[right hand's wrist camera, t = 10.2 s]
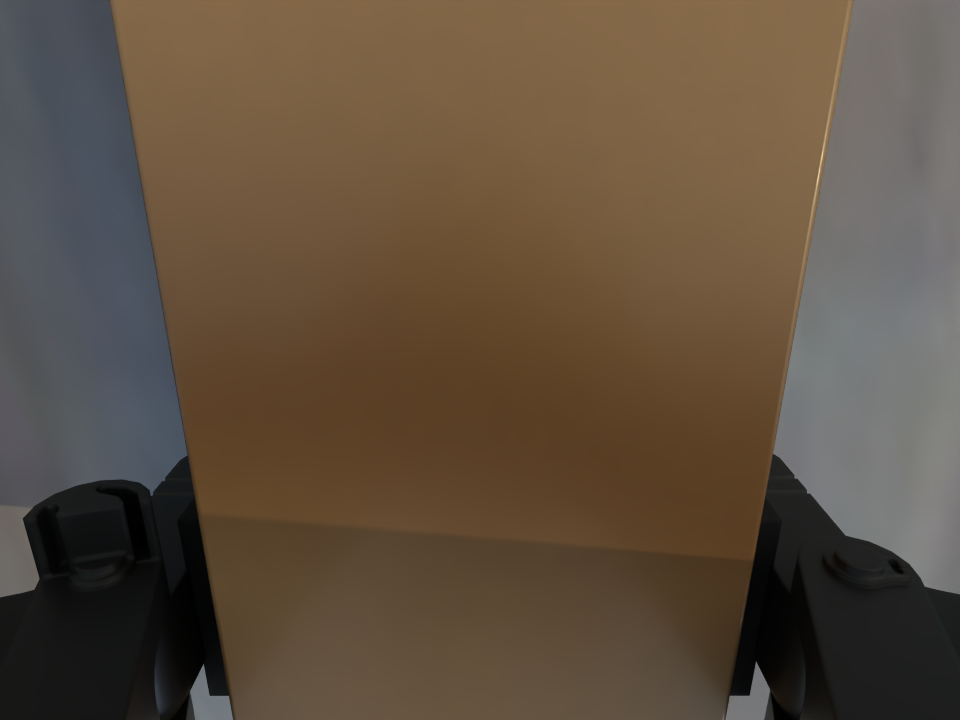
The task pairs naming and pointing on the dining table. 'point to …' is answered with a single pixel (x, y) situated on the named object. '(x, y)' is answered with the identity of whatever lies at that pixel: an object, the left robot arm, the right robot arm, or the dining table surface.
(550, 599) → the beam
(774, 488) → the right robot arm
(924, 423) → the dining table surface
